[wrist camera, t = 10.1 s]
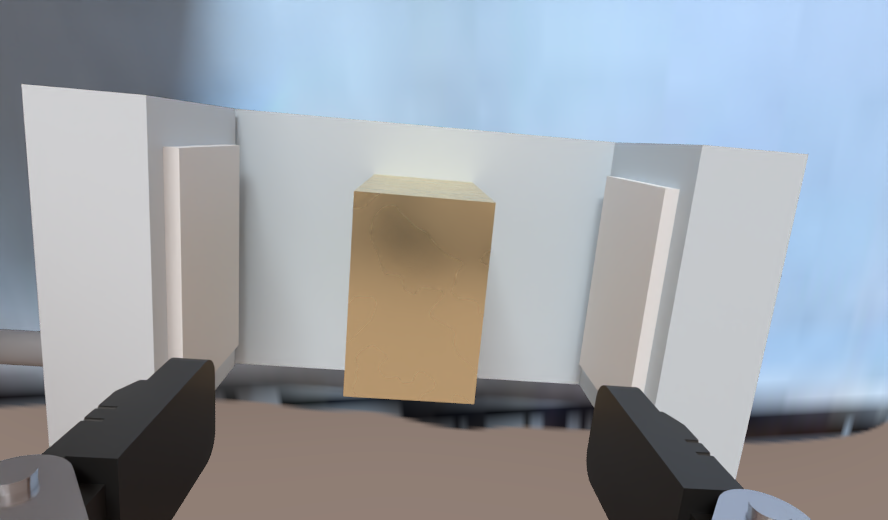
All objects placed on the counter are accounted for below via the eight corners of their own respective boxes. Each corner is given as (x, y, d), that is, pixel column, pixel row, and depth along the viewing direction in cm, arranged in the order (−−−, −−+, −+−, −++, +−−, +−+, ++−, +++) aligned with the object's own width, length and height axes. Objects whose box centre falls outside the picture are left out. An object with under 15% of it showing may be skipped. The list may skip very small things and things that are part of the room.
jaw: (29, 353, 26) (-140, 446, 18) (7, 88, 23) (-201, 64, 16) (245, 366, 26) (172, 462, 19) (247, 109, 24) (163, 96, 16)
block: (365, 320, 27) (343, 395, 19) (374, 174, 25) (353, 191, 17) (458, 326, 27) (474, 404, 19) (472, 182, 25) (495, 202, 18)
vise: (176, 347, 28) (55, 451, 19) (171, 103, 25) (28, 84, 16) (644, 376, 29) (747, 486, 20) (684, 149, 27) (823, 155, 18)
